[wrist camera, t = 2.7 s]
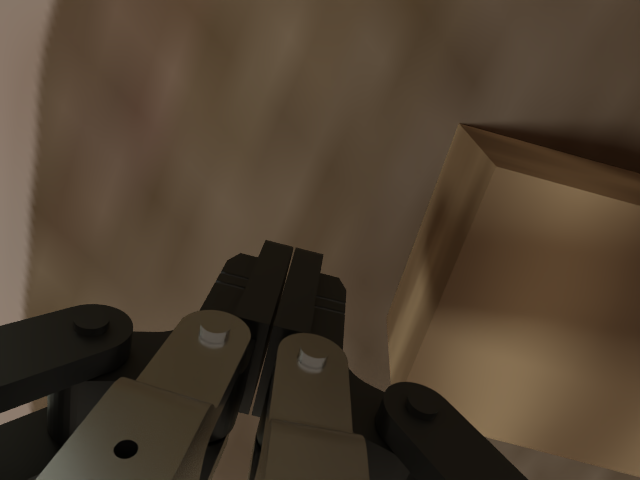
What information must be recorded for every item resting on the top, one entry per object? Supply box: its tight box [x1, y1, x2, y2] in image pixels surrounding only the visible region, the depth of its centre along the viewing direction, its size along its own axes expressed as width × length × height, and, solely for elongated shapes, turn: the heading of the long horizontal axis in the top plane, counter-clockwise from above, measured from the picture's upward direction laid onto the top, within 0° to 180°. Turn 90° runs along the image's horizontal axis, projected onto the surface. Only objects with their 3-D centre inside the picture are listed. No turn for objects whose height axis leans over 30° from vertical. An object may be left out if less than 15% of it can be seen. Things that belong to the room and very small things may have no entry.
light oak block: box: [387, 124, 640, 477], centre depth 16 cm, size 12×8×6 cm, turn 76°
